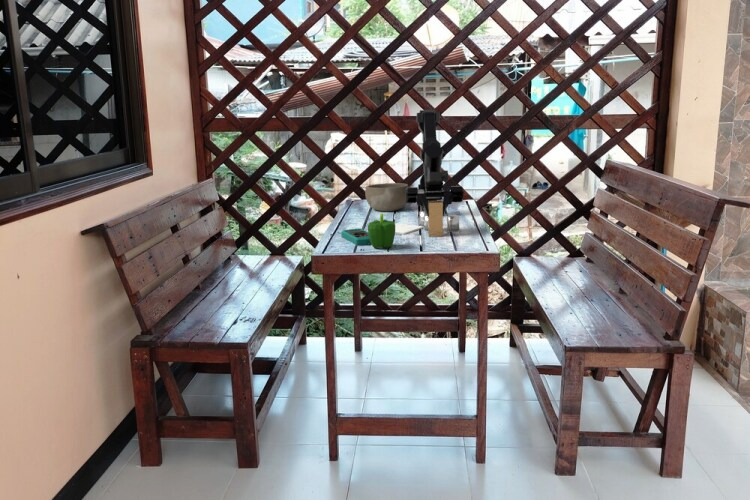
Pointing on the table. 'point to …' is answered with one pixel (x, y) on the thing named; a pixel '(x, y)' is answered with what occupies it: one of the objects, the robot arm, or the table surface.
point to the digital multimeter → (356, 236)
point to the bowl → (386, 196)
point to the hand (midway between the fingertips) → (435, 215)
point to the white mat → (406, 228)
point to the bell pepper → (381, 233)
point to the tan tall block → (435, 218)
